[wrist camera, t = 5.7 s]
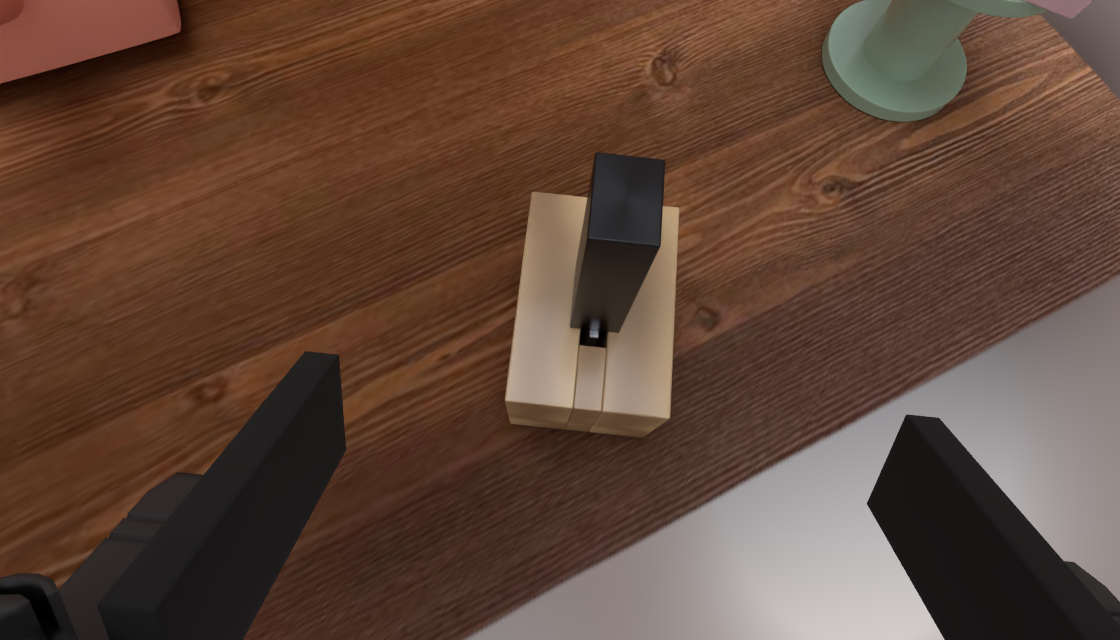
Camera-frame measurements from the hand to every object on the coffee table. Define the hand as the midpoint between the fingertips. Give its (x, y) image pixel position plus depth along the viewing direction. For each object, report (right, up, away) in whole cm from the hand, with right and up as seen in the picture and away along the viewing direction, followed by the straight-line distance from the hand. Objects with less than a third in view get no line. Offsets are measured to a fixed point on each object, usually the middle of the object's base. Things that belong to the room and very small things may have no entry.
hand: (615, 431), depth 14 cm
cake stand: (+20, +20, +26) cm, 38 cm away
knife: (0, +2, +19) cm, 19 cm away
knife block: (0, +2, +19) cm, 19 cm away
